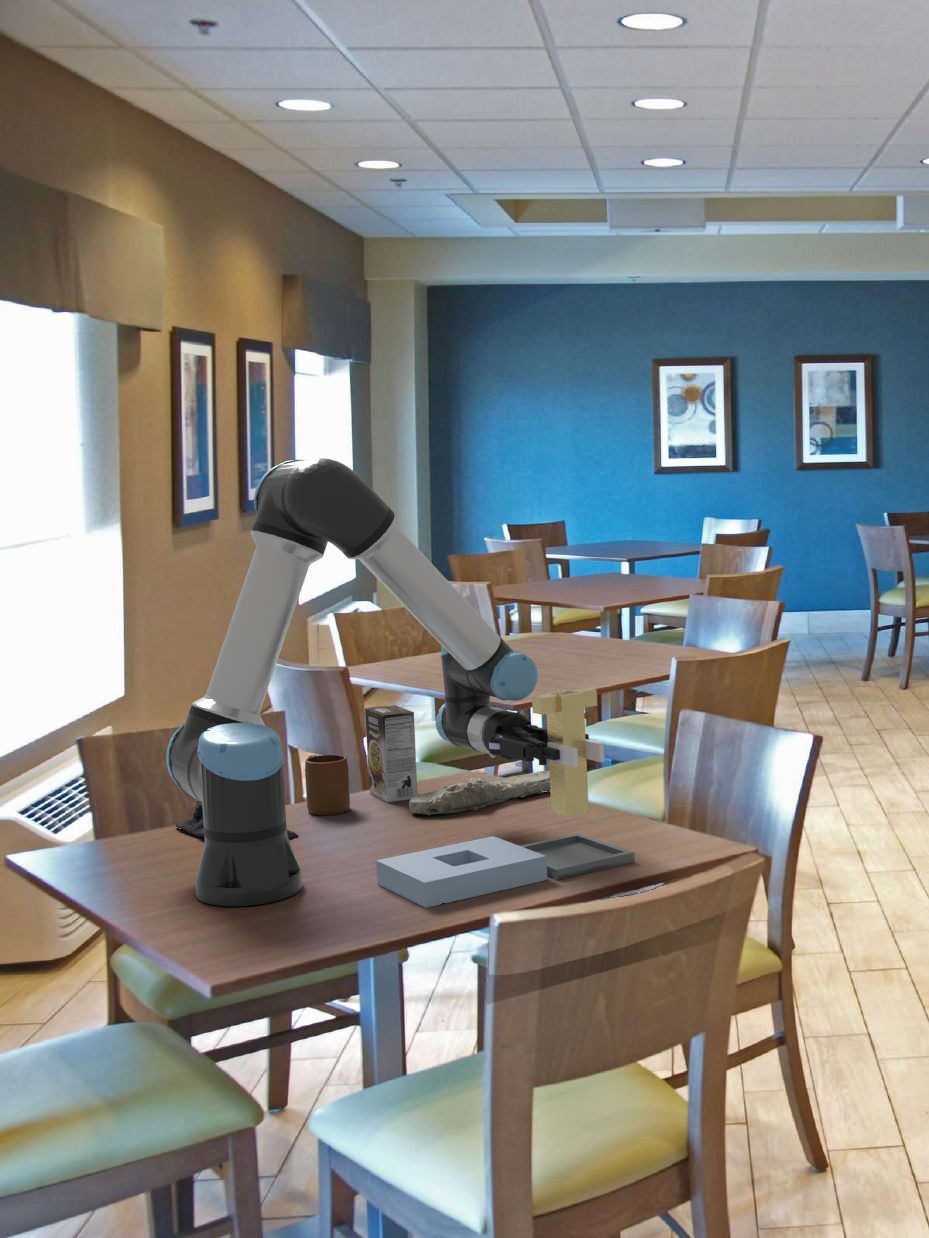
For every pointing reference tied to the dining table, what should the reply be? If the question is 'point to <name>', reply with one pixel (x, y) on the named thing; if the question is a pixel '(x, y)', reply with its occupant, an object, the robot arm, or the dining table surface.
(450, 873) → the cover plate
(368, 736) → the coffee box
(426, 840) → the dining table surface
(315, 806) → the mug
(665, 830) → the dining table surface
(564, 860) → the tray
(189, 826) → the dark slate chunk
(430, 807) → the long grey stone
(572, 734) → the t key
